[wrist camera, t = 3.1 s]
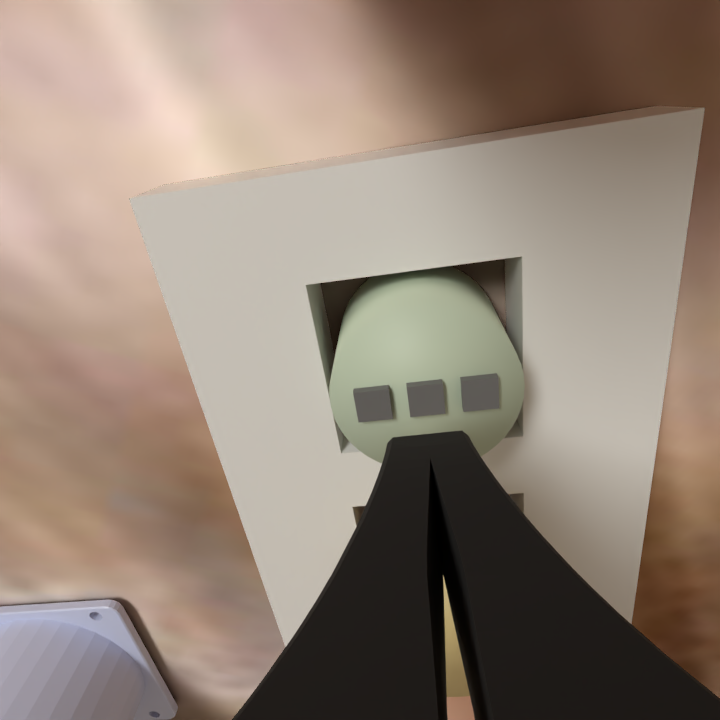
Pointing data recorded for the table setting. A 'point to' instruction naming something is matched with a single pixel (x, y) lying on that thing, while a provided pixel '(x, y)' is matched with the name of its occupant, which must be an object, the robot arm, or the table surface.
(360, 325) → the button three
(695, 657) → the table surface
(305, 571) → the panel
